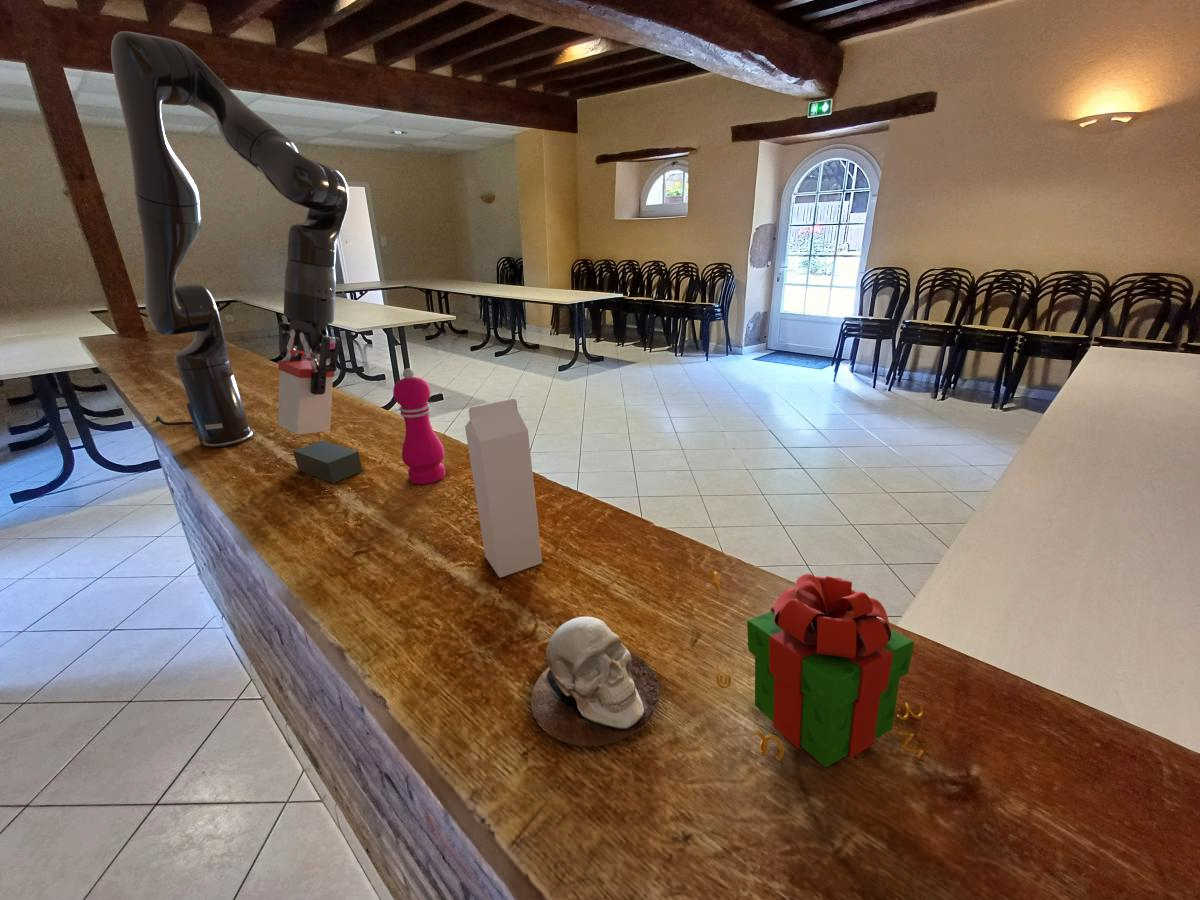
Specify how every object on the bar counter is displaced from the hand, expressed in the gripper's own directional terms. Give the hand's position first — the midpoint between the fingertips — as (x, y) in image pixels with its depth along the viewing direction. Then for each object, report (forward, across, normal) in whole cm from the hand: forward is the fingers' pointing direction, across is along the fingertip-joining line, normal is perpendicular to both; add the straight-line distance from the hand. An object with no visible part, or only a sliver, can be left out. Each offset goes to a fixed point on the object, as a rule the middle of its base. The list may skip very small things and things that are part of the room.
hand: (306, 388), depth 97 cm
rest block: (+16, +1, +5) cm, 17 cm away
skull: (+11, +73, -16) cm, 76 cm away
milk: (+11, +52, -2) cm, 53 cm away
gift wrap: (+7, +90, -11) cm, 91 cm away
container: (+6, 0, +4) cm, 7 cm away
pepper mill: (+12, +20, +11) cm, 26 cm away
